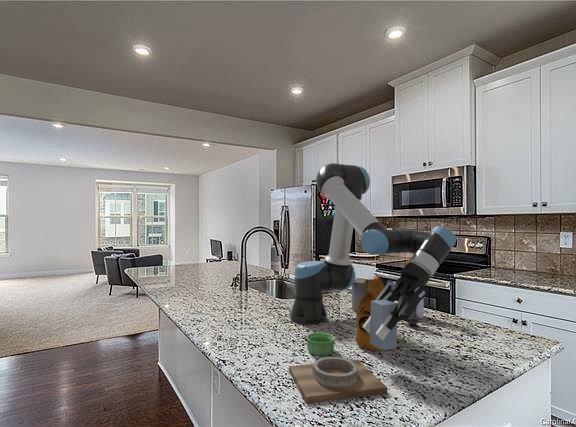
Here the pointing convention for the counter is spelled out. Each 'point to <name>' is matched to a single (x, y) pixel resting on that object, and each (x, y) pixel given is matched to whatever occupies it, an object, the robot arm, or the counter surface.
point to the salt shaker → (413, 320)
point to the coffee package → (367, 312)
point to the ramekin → (320, 343)
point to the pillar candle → (358, 292)
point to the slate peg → (378, 316)
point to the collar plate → (334, 392)
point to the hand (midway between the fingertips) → (372, 333)
